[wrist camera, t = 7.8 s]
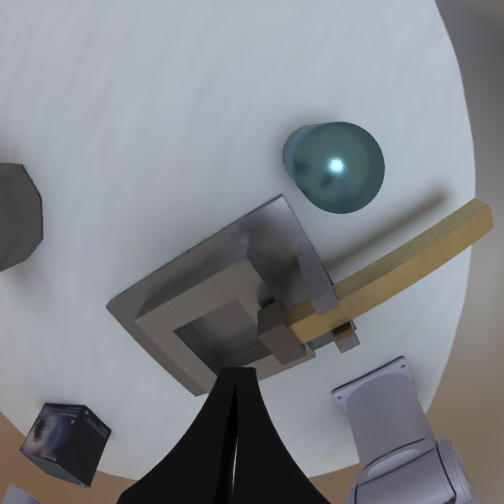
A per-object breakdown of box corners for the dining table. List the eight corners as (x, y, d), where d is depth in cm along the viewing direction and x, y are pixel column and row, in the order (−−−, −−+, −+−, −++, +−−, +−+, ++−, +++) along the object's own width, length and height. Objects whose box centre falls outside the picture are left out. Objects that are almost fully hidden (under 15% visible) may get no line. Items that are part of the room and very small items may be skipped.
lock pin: (476, 225, 15) (498, 238, 12) (279, 340, 18) (282, 365, 16) (468, 188, 14) (492, 198, 12) (257, 310, 17) (257, 336, 15)
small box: (84, 402, 28) (56, 465, 18) (113, 431, 31) (93, 490, 21) (43, 401, 30) (16, 450, 20) (69, 427, 32) (48, 475, 22)
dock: (354, 323, 22) (377, 378, 16) (196, 390, 25) (187, 442, 20) (281, 193, 18) (294, 223, 12) (109, 301, 21) (75, 350, 16)
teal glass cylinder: (355, 169, 17) (397, 187, 12) (303, 198, 18) (323, 229, 12) (325, 114, 16) (358, 106, 10) (270, 144, 17) (277, 150, 11)
